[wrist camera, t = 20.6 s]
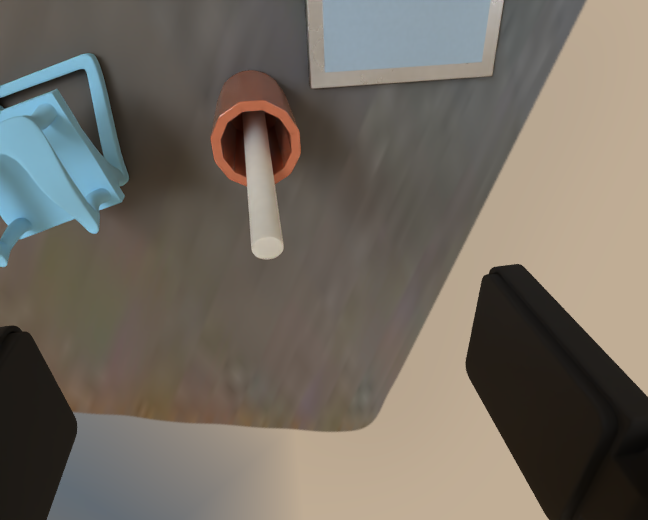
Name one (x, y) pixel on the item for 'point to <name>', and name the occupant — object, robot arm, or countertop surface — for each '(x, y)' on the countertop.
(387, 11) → the plate
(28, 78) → the chair
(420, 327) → the countertop surface
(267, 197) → the stylus
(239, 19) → the countertop surface
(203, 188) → the countertop surface
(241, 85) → the pen pot
